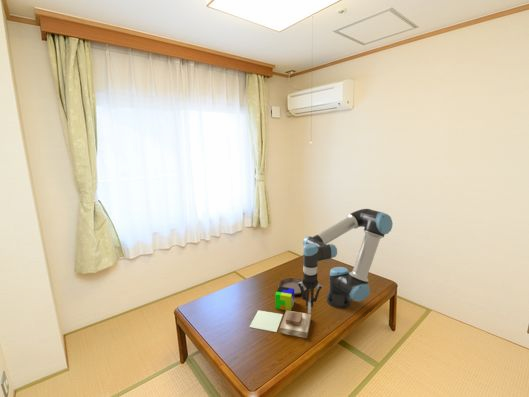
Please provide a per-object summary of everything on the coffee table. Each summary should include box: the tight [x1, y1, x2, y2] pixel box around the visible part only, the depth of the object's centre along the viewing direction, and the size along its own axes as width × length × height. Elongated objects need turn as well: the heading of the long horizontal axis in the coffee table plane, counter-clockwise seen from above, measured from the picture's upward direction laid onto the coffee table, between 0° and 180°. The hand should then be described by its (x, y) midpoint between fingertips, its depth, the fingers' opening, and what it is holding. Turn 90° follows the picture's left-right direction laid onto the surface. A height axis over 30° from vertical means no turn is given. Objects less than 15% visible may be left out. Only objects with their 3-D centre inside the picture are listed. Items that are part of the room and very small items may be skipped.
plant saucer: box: [278, 277, 306, 296], centre depth 191 cm, size 21×21×3 cm
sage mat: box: [249, 309, 284, 333], centre depth 157 cm, size 16×16×1 cm
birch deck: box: [279, 310, 312, 339], centre depth 152 cm, size 15×16×4 cm
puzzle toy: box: [274, 286, 295, 311], centre depth 171 cm, size 10×10×10 cm
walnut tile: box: [286, 311, 303, 326], centre depth 152 cm, size 8×8×2 cm
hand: (309, 311), depth 148 cm, fingers closed
